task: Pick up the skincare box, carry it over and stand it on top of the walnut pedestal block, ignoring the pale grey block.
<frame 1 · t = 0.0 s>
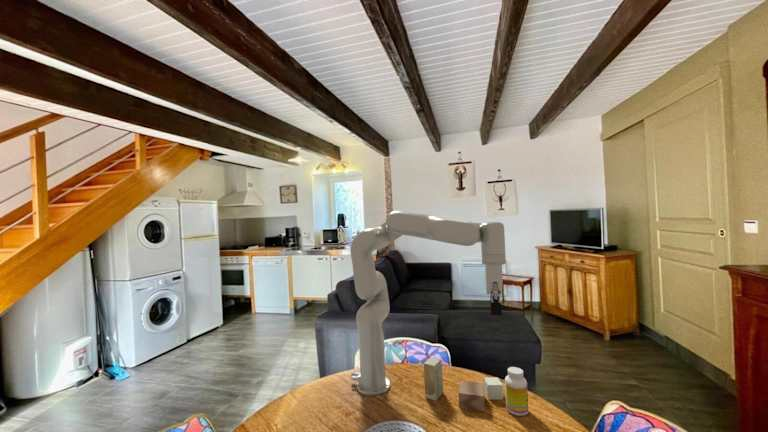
hand: (495, 310, 103), 31 cm above the table, fingers open, 9 cm apart
skincare box: (434, 395, 109), on the table
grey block: (493, 395, 108), on the table
supplement bottle: (517, 411, 99), on the table
walnut block: (472, 402, 104), on the table
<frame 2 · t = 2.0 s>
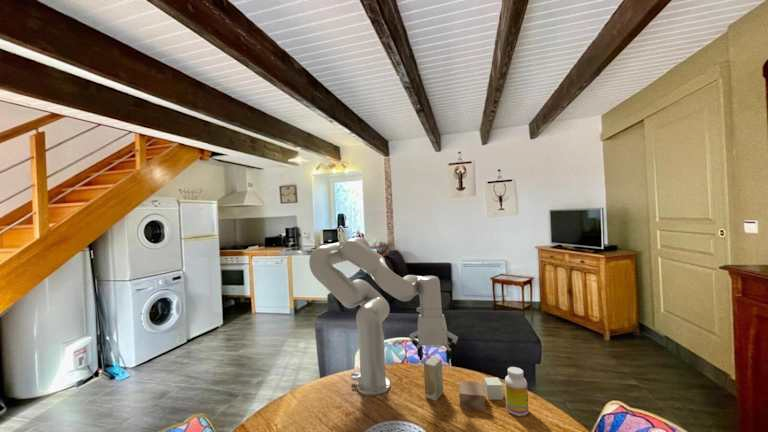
hand: (434, 359, 109), 13 cm above the table, fingers open, 9 cm apart
nothing on the table moved.
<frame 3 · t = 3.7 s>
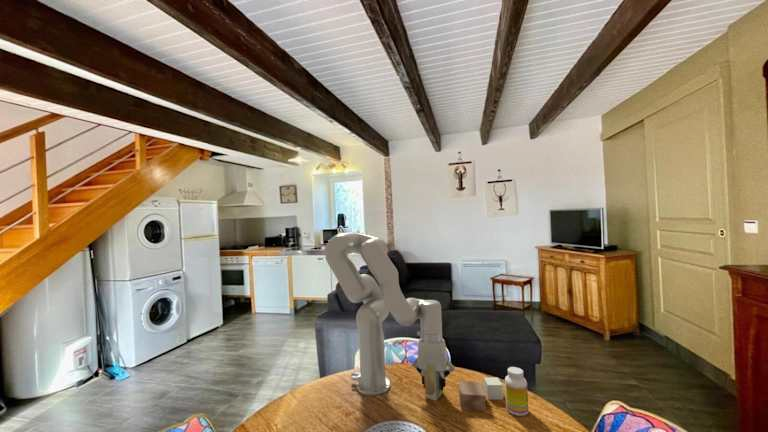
hand: (433, 386, 109), 3 cm above the table, fingers closed on skincare box, 5 cm apart
skincare box: (434, 395, 109), on the table, touching gripper
everything else where it was.
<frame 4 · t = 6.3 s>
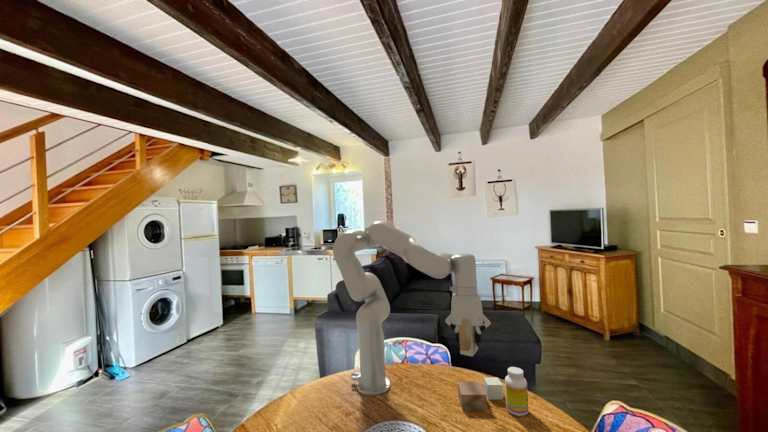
hand: (468, 343, 105), 20 cm above the table, fingers closed on skincare box, 5 cm apart
skincare box: (469, 352, 104), point 17 cm above the table, touching gripper
everything else where it was.
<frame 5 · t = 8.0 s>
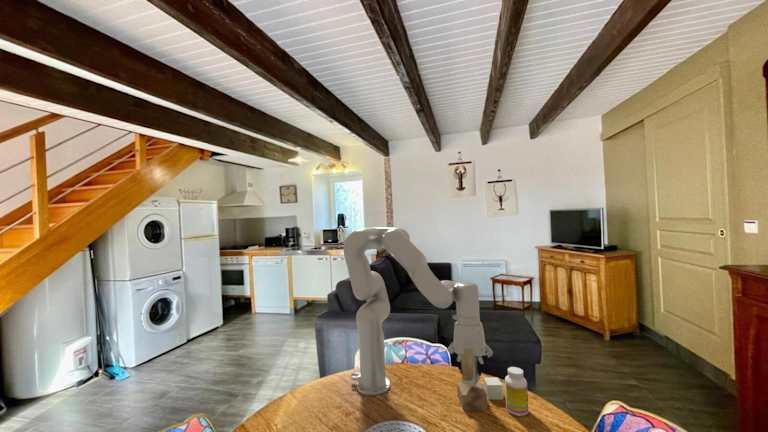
hand: (470, 372, 104), 10 cm above the table, fingers closed on skincare box, 5 cm apart
skincare box: (471, 381, 104), point 7 cm above the table, touching gripper
everything else where it was.
when the fingers open (9 cm above the table, at t = 9.1 s): skincare box drops 1 cm, resting on walnut block.
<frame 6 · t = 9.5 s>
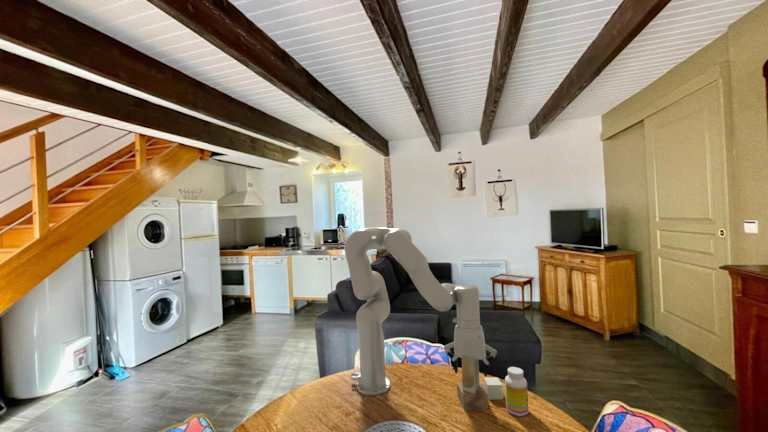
hand: (470, 373, 104), 10 cm above the table, fingers open, 9 cm apart
skincare box: (471, 388, 104), point 5 cm above the table, touching walnut block
walnut block: (472, 402, 104), on the table, touching skincare box
everything else where it was.
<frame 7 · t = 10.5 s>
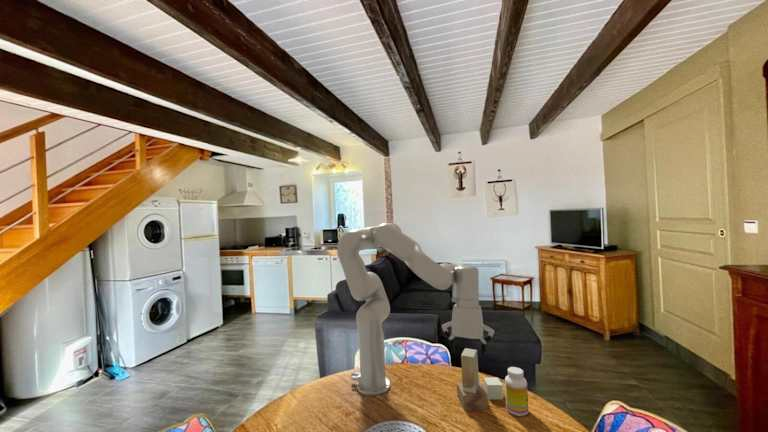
hand: (467, 352, 105), 17 cm above the table, fingers open, 9 cm apart
nothing on the table moved.
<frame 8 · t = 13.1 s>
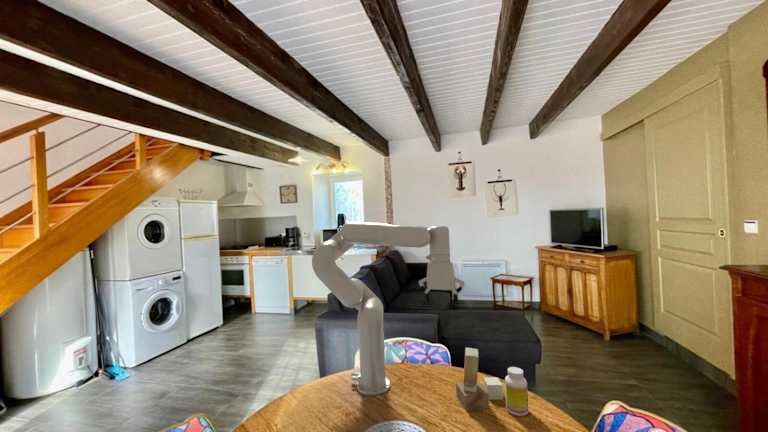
hand: (442, 303, 116), 30 cm above the table, fingers open, 9 cm apart
at the end: skincare box inside the target area on the walnut block (0.6 cm from its centre), point 5.0 cm above the walnut block's base; skincare box tilted 5°; the gripper is holding nothing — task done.
